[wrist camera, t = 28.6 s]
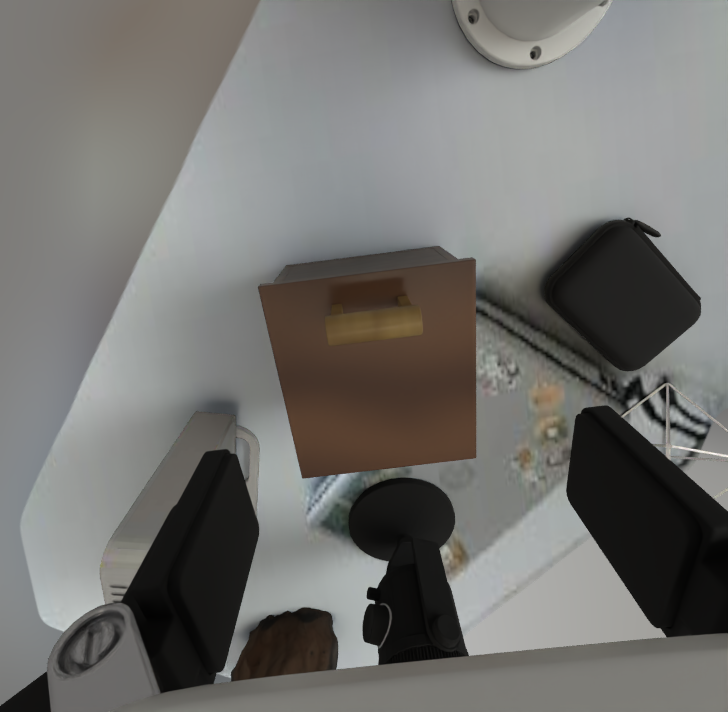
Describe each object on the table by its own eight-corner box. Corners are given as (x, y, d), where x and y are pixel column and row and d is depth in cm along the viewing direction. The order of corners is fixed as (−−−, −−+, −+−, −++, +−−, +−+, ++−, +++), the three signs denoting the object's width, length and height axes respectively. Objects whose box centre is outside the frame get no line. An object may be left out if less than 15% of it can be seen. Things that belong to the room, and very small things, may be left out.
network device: (254, 564, 53) (205, 765, 35) (188, 560, 52) (101, 763, 34) (261, 402, 43) (196, 565, 25) (179, 393, 42) (49, 555, 24)
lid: (260, 283, 27) (236, 309, 21) (472, 257, 27) (504, 275, 21) (303, 472, 33) (294, 529, 28) (473, 452, 33) (498, 505, 28)
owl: (238, 634, 59) (188, 837, 41) (281, 586, 55) (247, 787, 37) (309, 661, 62) (292, 860, 44) (355, 618, 58) (357, 817, 40)
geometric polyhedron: (623, 372, 43) (688, 418, 35) (710, 390, 44) (792, 439, 36) (574, 461, 48) (620, 520, 40) (653, 475, 49) (714, 535, 41)
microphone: (370, 465, 47) (391, 735, 24) (471, 493, 49) (577, 762, 26) (334, 543, 52) (323, 826, 29) (427, 564, 54) (485, 843, 31)
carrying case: (704, 297, 40) (617, 198, 36) (730, 305, 37) (640, 199, 33) (617, 371, 43) (529, 288, 39) (636, 384, 40) (543, 296, 36)
